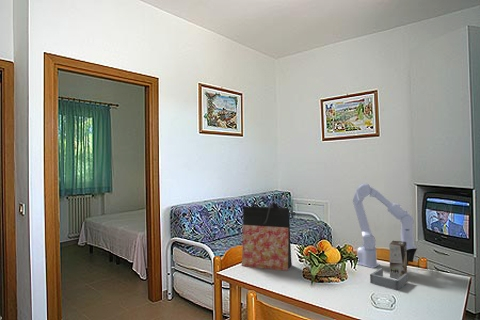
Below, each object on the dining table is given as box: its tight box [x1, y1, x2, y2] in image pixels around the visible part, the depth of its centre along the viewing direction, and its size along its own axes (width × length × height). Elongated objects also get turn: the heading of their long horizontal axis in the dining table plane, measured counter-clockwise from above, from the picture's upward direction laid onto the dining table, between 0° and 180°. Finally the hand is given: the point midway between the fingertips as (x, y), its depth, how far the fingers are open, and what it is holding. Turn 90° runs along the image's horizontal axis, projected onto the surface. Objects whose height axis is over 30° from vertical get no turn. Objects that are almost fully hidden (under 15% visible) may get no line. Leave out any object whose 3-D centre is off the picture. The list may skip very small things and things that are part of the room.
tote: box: [369, 267, 408, 291], centre depth 142 cm, size 12×12×4 cm
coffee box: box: [389, 240, 408, 279], centre depth 151 cm, size 9×6×16 cm
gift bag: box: [241, 202, 296, 272], centre depth 168 cm, size 29×14×35 cm, turn 69°
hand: (407, 263), depth 160 cm, fingers open, 7 cm apart
